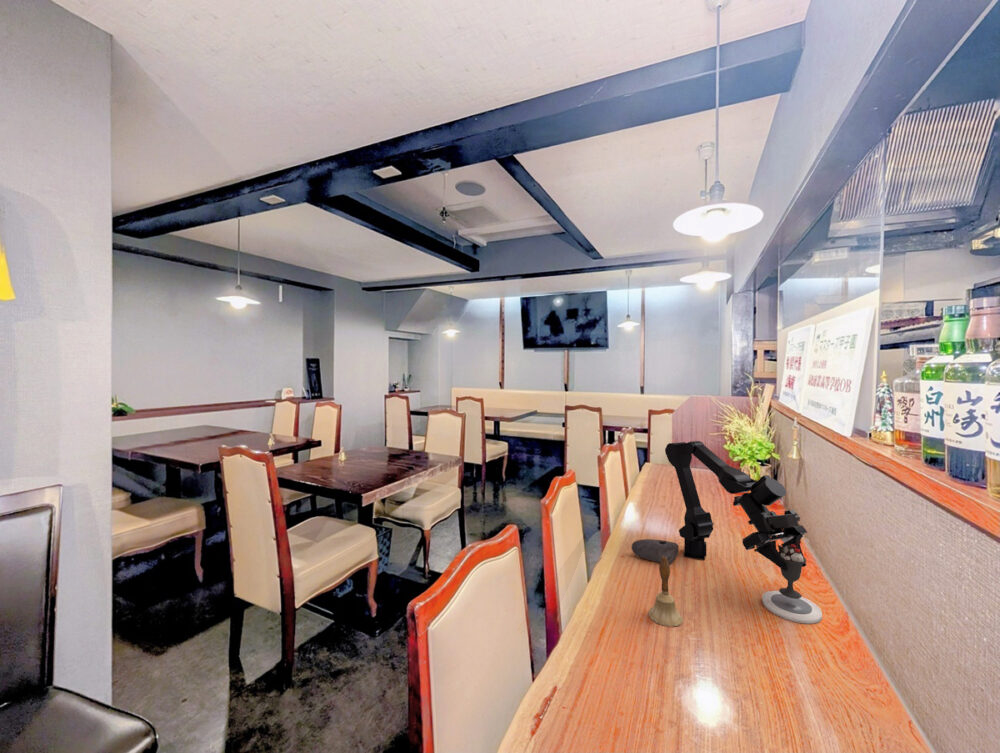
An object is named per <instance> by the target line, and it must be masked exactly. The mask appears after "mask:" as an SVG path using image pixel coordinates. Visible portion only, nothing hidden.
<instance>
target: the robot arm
mask: <svg viewBox="0 0 1000 753" xmlns="http://www.w3.org/2000/svg"><path fill="white" fill-rule="evenodd" d="M664 452H665V455H666V457H667V460H668V463H670V464H671V466H672V467H674V469H675V472H676V477H677V480H678V483H679V488H680V491H681V495H682V498H683V502H684V506H685V512H684V513H685V514H684V518H683V520H684V525H683V526H682V527H681V528H679V529H678V533H679V537H681V538H683V540H684V543H683V544H684V548H683V556H684V557H685V558H686V557H687V558H692V559H697V560H702V561H705V560H706V557H707V542H706V541H705V539H709V538H710V536H711V534H712V532H713V531H714V525H715V524H714V522H713V520H712V514H711V513H710V512H709V511H707V512H706V511H705V509H703V507H702V505H701V504H702V503H701V500H700V496H699V494H698V491H697V487H696V483H695V480H694V476H693V472H692V468H691V464H692V459H693V456H694V457H695V458H696V459H697V460H698V461H699V462H701V463H702V464H703V465H704V466H705V467H707V468H708V469H709V471H711V472H712V473H713V474H714V475H715V476H716V477H717V479H718V483H719V484H720V485H721V486H722V487H723V489H724V490H725V491H726V492H727V493H729V494H731V495H735V494H741V495H737V496H734V499H733V502H732V503H733V504H732V505H733V506H734V507H736V506H740V507H741V508H742V509H743V511H744V513H745V514H746V516H747V517H748V519H749V520H748V521H747V523H748V524H749V526H752V525H753V526H754V528H755V529H756V531H755V532H752V533H750V534H749V535H746V536H745V537H744V538H742V545H743V547H744V548H745V550H746V551H749V550H753V552H755V553H758V554H759V555H762V556H763V557H765V558H766V559H767V560H769V561H770V562H772V563H773V564H774V565H776V566H777V567H778V568H780V570H781V569H782V570H784V571H787V570H788V568H787V566H786V564H785V562H784V560H783V559H782V557H781V555H780V554H779V550H778V549H777V540H781V541H782V542H783V543H781V544H780V546H782V547H786V546H788V545H789V546H791V544H795V546H796V548H797V547H798V549H799V550H800V554H801V555H802V556H803V557H805V556H804V554H803V550H802V547H801V543H800V542H799V541H801V540H802V539H803V537H804V535H805V534H808V531H807V530H806V528H805V527H804V525H801V524H799V522H800V521H801V517H800V515H799V514H798V513H797V512H796V510H794V509H789V510H784V513H783V514H777V513H776V512H775V511H774V510H771V511H770V510H769V508H767V506H768V507H770V506H771V505H772V504H774V503H775V502H777V501H779V500H781V499H782V498H783V497H784V496H786V494H787V490H786V488H785V487H784V484H782V483H780V482H779V481H777V480H776V479H774V478H772V477H771V476H770V475H769V474H766V475H762V476H761V477H760V478H759V479H758V480H756V479H754V478H751V476H750V475H749V474H747V473H746V472H744V471H742V470H741V469H738V468H735V467H733V466H731V465H729V464H727V463H726V462H725V461H724V460H723V459H721V458H720V457H719V456H718V455H717V454H715V453H714V452H713V450H710V449H709V448H708V447H707V446H706V445H705V444H704V442H702V441H700V440H694V441H693V440H692V441H688V442H684V441H681V442H669V443H667V444H666V447H665V448H664ZM692 455H693V456H692ZM742 493H743V494H742ZM797 542H798V543H799V544H798V543H797ZM801 542H802V541H801ZM796 543H797V544H798V546H797V544H796ZM806 566H807V562H806V563H805V564H803V565H802V568H805V567H806Z"/></svg>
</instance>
